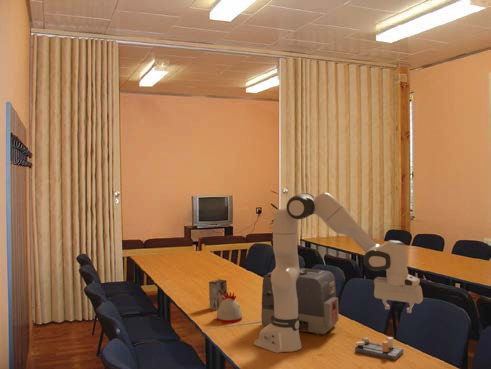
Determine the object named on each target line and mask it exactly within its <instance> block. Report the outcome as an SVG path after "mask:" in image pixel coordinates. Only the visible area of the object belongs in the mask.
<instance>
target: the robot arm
mask: <svg viewBox="0 0 491 369" xmlns="http://www.w3.org/2000/svg"><path fill="white" fill-rule="evenodd" d="M311 215H316V216H318V217H319V219H321V220H322V221H323V222H324V223H325V224H326V226H328V228H329V229H331V230H332V231H334V232H335V233H337V234H340V235H344V236H347V237H349V238H350V239H352V240H353V241H354V242H355V244H357V245H358V246H359V248H361V249H362V250H363V252H364V256H363V265H364V266H365V268H366V269H368V270H370V271H371V272H372V271H373V272H379V271H386V276H385V277H384V276H383V277H382V276H376V277H375V278H374V280H373V284H374V292H373V296H374V297H375V299H381V300H382V303H383V305H384V309H385V310H387V311H389V310H390V308H391V307H390V304H389V303H388V302H387V301H393V302H401V303H402V302H403V303H408V305H409V307H407V308H406V313H409V314H411V313H412V309H413V307H414V305H415V304H417V305H420V304H421V303H422V302H423V300H424V295H423V289H422V287H421V284H420V282H421V280H420V278H419V277H417V276H416V277H415V276H414V275H412V274H409V270H408V263H409V262H408V261H409V260H408V259H409V258H408V256H409V255H408V249H407V246H406V244H405V243H404V242H402V241H400V240H394V239H389V240H387V241H386V242H385V243H383V244H380V243H379V242H377V241H375V240H373V238H372V237H370V235H368V233H366V231H365V230H364V229H363V228H362V227H361V226H360V225H359V224H358V222H356V220H355V219H354V217H353V216H352V214H351V213H350V212H349V211H348V209H347V208H346V207H345V206H344V205H343V204H342V203H341V202H340V201H339V200H338V199H337V198H336V197H334V196H333V195H332V194H330V193H329V192H326V191H324V192H321V193H319V194H317V195H316V196H315V197H314V196H313V195H312V194H310V193H306V192H305V193H297V194H296V195H293V196H292V197H291V198H289V199H288V200H287V203H286V207H285V208H283V207H282V208H280V209H277V210H276V211H275V213H274V215H273V222H272V224H273V225H272V247H273V248H272V249H273V250H272V251H273V253H274V259H275V267H274V269H273V270H272V271H271V272H272V274H271V283H272V290H273V296H274V315H273V316H272V317H270V319H269V320H271V319H272V321H271V323H270V324H269V325H267V326H266V325H265V327H263V328H261V330H260V331H259V337H258V338H257V339H255V341H254V344H253V345H254V346H257V347H259V348H262V349H264V350H268V351H270V352H273V353H285V352H286V353H287V352H289V353H290V352H296V351H299V350H301V349H302V348H303V344H302V341H301V336H300V330H299V316H298V298H297V292H296V280H297V279H298V277H299V274H300V270H299V268H300V263H299V262H300V261H299V254H298V222H299V220H303V219H306V218H308V217H310V216H311Z"/></svg>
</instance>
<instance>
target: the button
mask: <svg viewBox="0 0 491 369" xmlns="http://www.w3.org/2000/svg"><path fill="white" fill-rule="evenodd" d="M362 341H365V343H369V342H370V338H369V337H366V336H365V337H362Z"/></svg>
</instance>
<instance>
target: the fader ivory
mask: <svg viewBox="0 0 491 369" xmlns="http://www.w3.org/2000/svg"><path fill="white" fill-rule="evenodd" d="M386 341H389V348H392V347H393V346H394V337H393V336H388V337H386Z"/></svg>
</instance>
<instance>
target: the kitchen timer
mask: <svg viewBox="0 0 491 369" xmlns="http://www.w3.org/2000/svg"><path fill="white" fill-rule="evenodd" d="M224 296H225V298H224V297H223V296H222V298H223V301H222V302H221V304H220V306H219V308H218V310H217V312H216V321H217V322H219V323H223V324H234V323H239V322H241V321H242V320H243V315H242V310H241V306H240V305H239V303H238V302H237V301H236V298H237V295H235V292H232V293H231V292H228V291H227V296H226V295H225V294H224Z"/></svg>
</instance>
